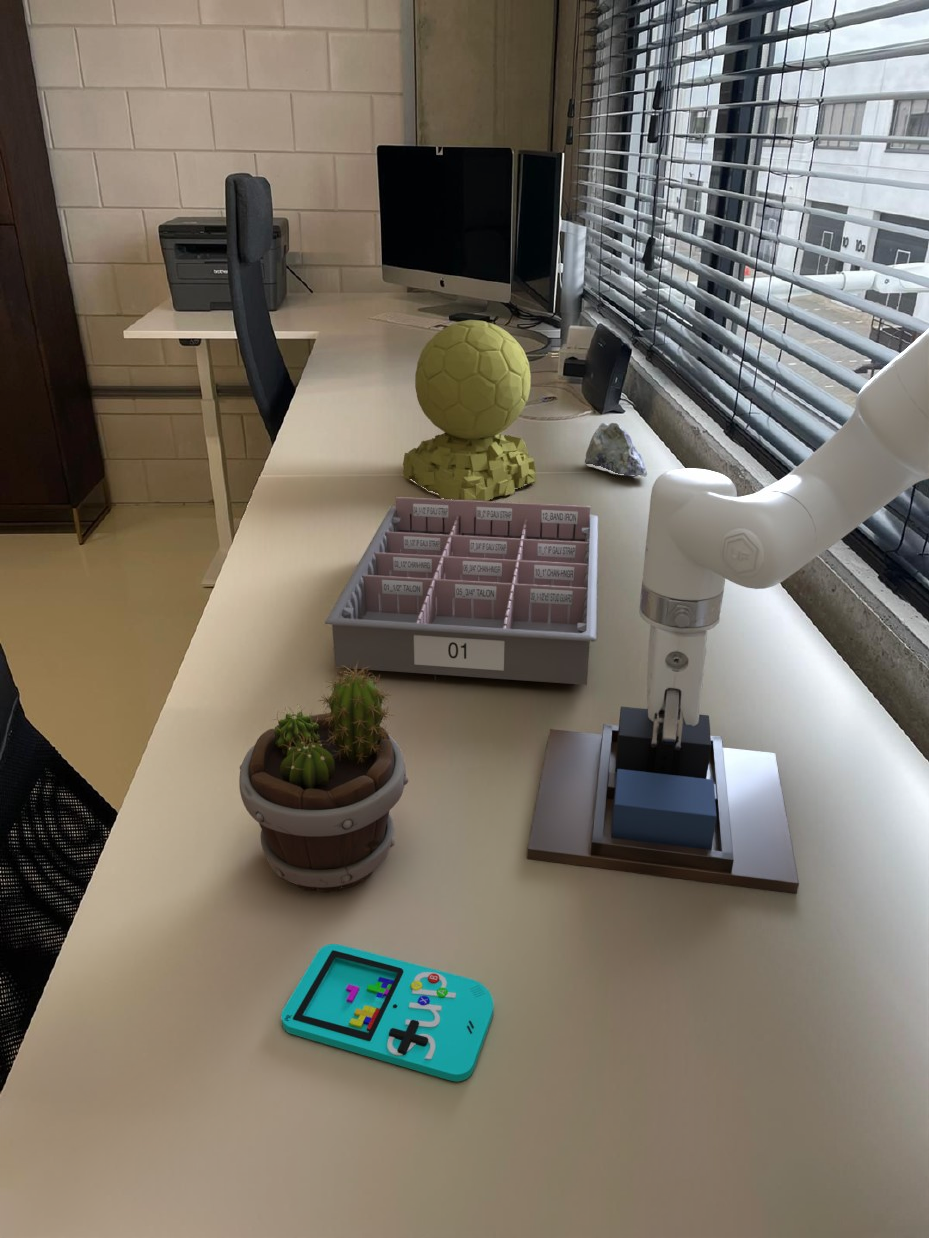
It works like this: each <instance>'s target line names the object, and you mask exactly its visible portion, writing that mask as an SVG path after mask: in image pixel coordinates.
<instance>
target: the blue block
mask: <svg viewBox="0 0 929 1238" xmlns="http://www.w3.org/2000/svg"><path fill="white" fill-rule="evenodd" d="M716 817H717V816H716V803H715V790H714V780H711V779H703V778H694V777H685V776H676V775H667V774H658V773H649V772H641V771H632V770H623V769H617V776H616V786H615V796H614V807H613V821H612V834H611V838H618V839H626V840H634V841H642V842H650V843H658V844H666V845H674V846H682V847H690V848H698V849H706V850H711V848H712V842H713V836H714V829H715V823H716Z"/></svg>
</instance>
